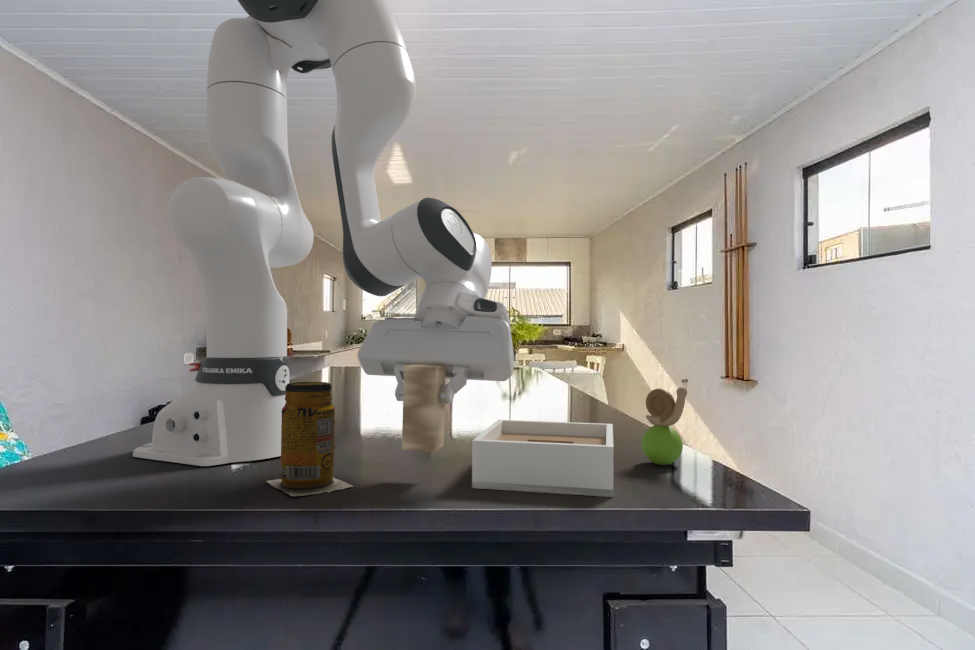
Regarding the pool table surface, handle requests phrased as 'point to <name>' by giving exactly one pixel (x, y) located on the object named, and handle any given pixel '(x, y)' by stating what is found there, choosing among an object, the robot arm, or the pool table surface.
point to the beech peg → (423, 408)
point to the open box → (544, 457)
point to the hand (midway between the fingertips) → (422, 399)
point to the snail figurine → (663, 426)
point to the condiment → (307, 441)
